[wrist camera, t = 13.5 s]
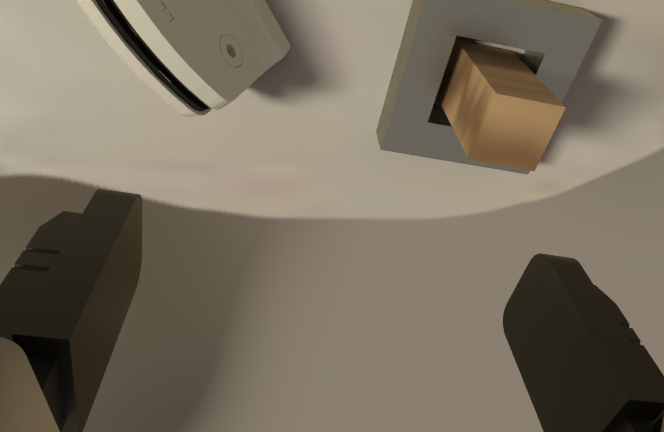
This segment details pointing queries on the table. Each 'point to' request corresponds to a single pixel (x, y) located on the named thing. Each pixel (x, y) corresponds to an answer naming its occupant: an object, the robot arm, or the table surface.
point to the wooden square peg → (497, 106)
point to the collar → (486, 25)
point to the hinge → (192, 46)
